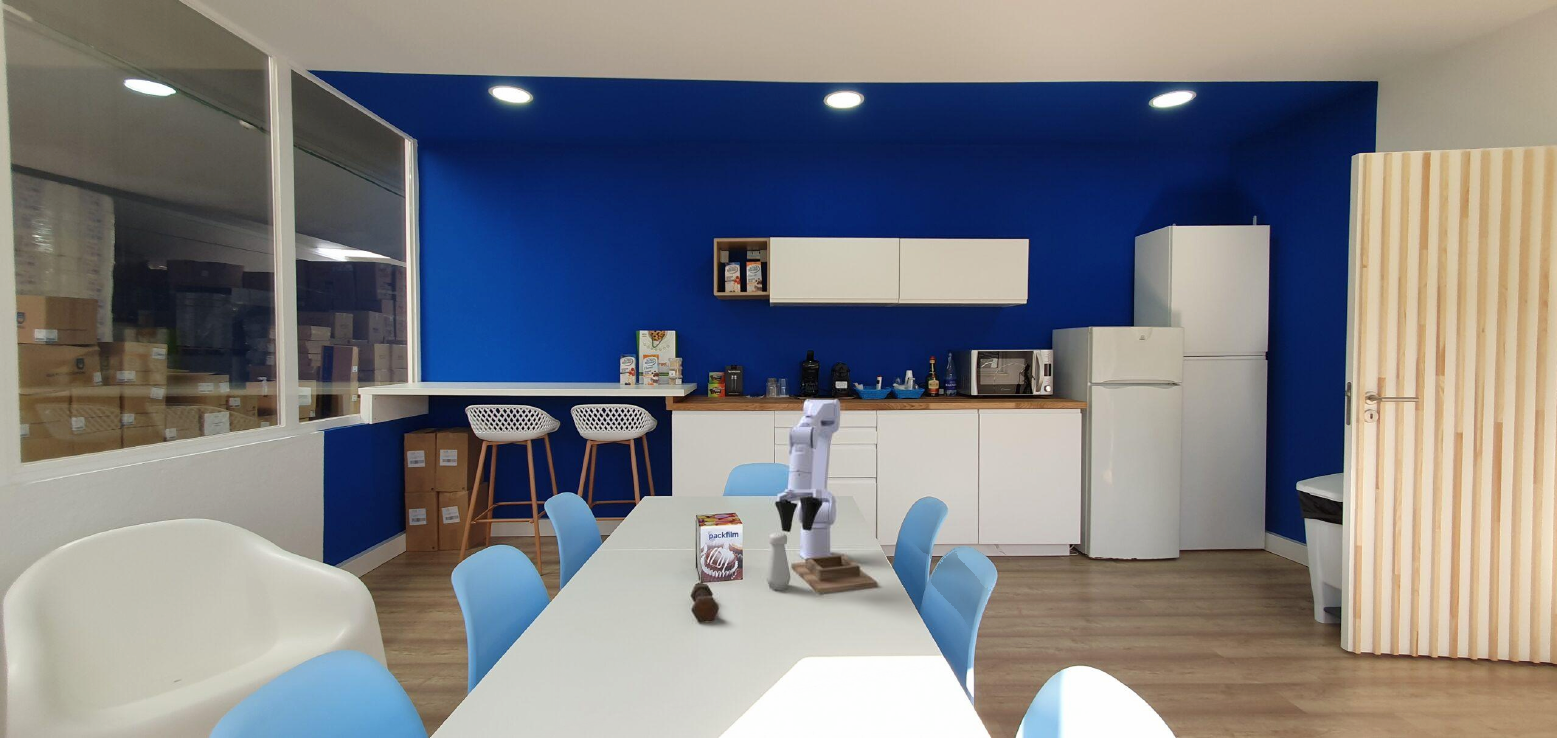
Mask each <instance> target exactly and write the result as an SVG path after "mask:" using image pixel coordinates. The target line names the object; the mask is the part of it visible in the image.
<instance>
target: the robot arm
mask: <svg viewBox="0 0 1557 738" xmlns="http://www.w3.org/2000/svg"><path fill="white" fill-rule="evenodd" d="M840 402H841V401H839V399H837V398H836V399H810V398H807V399H806V400H805V401H804V402H803V415H802V417H801V418H800V420H799V422H798V424H797V426H793V428H791V429H790V430H789V434H788V442H789V443H788V444H789V449H788V453H789V455H790V458H789V459H790V460H789V467H788V468H789V470H788V480H787V481H788V482H787V483H788V484H787V488H785V489H784V491H783V492H781V493H777V495H776V496H777V497H776V501H775V503H774V505H775V507H776V510H777V512H778V515H779V520H780V525H781V530H782V532H787V533H790V532H791V530H792V525H793V519H794V515H795V511H796V510H797V520H798V522H799V523H800V524H801V525H802V526H801V528H800V534H799V535H800V550H798V551H796V552H797V554H798V555H799V556H800V557H801V558H803V560H805V561H806V558H813V557H823V556H832V554H831V526H833V525H834V523H836V518H837V517H836V515H837V506H836V503H837V500H836V498H835V495H833V494H832V493H831V492H830V491H829V490H828V478H829V468H830V467H829V466H830V455H831V454H830V453H831V443H832V437H833V434H834V433H836V432H838V431H839V428H840V425H841V423H840V422H841V403H840ZM796 501H799V502H798V503H795V502H796Z"/></svg>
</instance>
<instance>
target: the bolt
mask: <svg viewBox="0 0 1557 738" xmlns="http://www.w3.org/2000/svg"><path fill="white" fill-rule="evenodd" d="M712 591H713V590H711V589H710V587H709V584H707V583H703V582H697V583H696V584H695V585H694V586H693V588H692V591H691V592H690V598H691V599H692V601H693V605H692V607H691V613H692V614H693V616H694V618H695V620H696V621H697V622H699V623H704V622H706V621H708V622H713V621H714V620H715V618H716V617H717V615H718V612H719V611H720V607H719V605H718V603H717V602H716V601H715V599H714V597H713V595H714V594H713V592H712Z"/></svg>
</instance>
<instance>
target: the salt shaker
mask: <svg viewBox="0 0 1557 738" xmlns="http://www.w3.org/2000/svg"><path fill="white" fill-rule="evenodd" d="M768 541H769V544H770V545H771V546H770V547H771V548H770V554H769V560H768V566H767V571H766V577H765V578H766V579H765V580H766V582H767V585H768V587H769V588H770V589H771V590H773V591H784V590H786V589H788V586H789V583H790V581H791V578H792V577H791V573H790V566H789V562H788V557H787V550H786V547H785V545H786V544H787V543H788V536H787V535H786V534H785V533H783V532H773V533H771V534H770V535H769V538H768Z"/></svg>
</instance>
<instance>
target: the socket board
mask: <svg viewBox="0 0 1557 738" xmlns="http://www.w3.org/2000/svg"><path fill="white" fill-rule="evenodd" d="M831 555H832V554H831ZM790 568H791V569H792V570H793V571H794V572H795V573H796V574H797V575H798V576H799V577H800V578H801V579H802V580H803V581H805V583H806V584H807V585H808V586H810V588H812V590H814V591H815V592H816V594H818V595H819V594H827V593H836V592H844V591H851V590H860V589H868V588H875V587H877V588H878V584H877V583H878V582H877V580H876V579H874V578H873V577H871V576H870V575H869V574H867V573H866V572H865V571H864V570H861V567H860V565H859V564H857V563H856V562H854V561H853V560H852V559H851V558H849V557H848V556H847V555H845V554H836V555H834V554H833V555H832V556H823V557H813V558H806V560H805V561H801V562H793V563H791V564H790Z"/></svg>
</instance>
